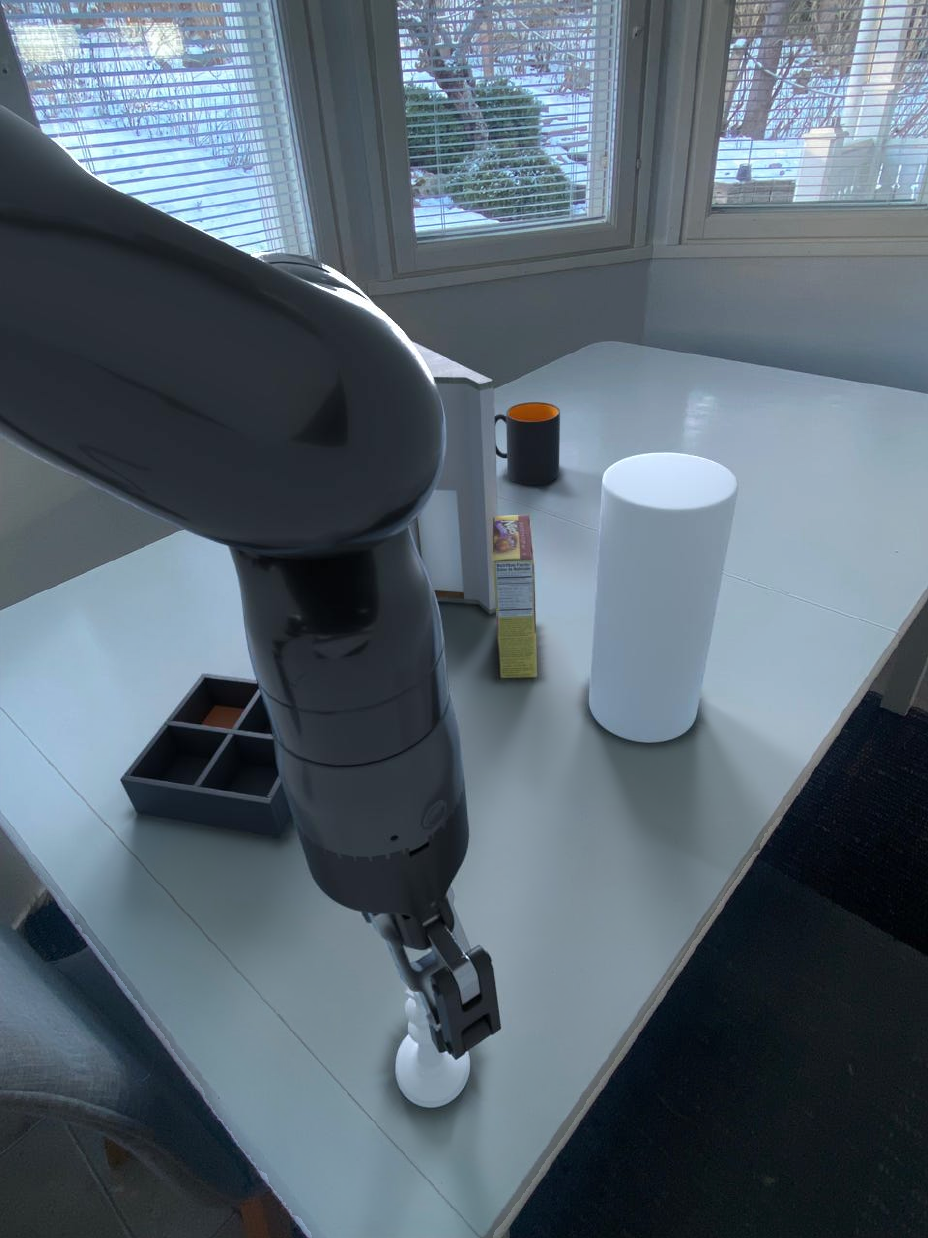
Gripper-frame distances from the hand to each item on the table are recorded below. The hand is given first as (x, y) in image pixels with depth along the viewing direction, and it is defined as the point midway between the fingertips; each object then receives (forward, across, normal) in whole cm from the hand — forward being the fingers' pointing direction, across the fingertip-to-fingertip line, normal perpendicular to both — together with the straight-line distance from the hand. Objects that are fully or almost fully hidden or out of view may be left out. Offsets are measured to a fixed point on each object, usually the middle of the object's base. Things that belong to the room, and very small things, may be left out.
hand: (415, 970), depth 41 cm
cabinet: (+12, -50, +28) cm, 59 cm away
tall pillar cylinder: (+13, -18, +34) cm, 41 cm away
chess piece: (+12, 0, 0) cm, 12 cm away
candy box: (+12, -32, +29) cm, 45 cm away
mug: (+13, -69, +56) cm, 90 cm away
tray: (+12, -33, -2) cm, 35 cm away
